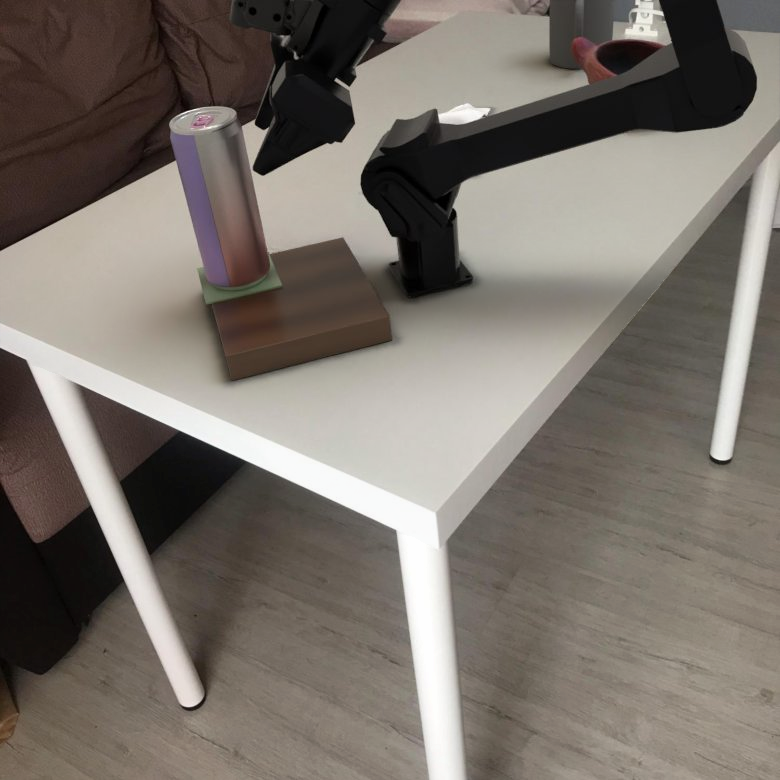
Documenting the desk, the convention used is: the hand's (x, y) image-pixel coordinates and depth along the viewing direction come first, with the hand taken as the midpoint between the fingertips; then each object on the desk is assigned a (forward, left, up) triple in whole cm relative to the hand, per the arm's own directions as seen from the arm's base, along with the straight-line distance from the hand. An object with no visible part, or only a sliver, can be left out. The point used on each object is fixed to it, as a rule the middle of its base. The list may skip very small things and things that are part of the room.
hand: (258, 148), depth 75 cm
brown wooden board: (-5, 0, -14) cm, 15 cm away
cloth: (+26, -25, -14) cm, 39 cm away
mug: (+45, -53, -14) cm, 71 cm away
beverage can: (-1, +4, -12) cm, 12 cm away
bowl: (+24, -49, -14) cm, 57 cm away
